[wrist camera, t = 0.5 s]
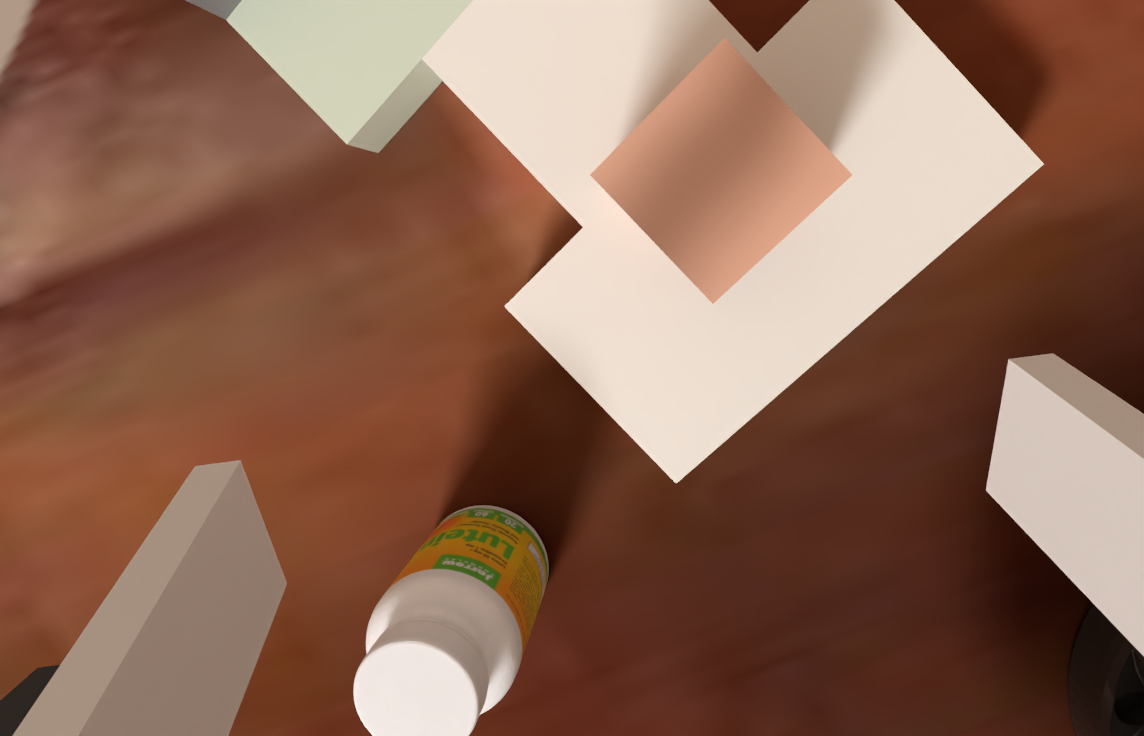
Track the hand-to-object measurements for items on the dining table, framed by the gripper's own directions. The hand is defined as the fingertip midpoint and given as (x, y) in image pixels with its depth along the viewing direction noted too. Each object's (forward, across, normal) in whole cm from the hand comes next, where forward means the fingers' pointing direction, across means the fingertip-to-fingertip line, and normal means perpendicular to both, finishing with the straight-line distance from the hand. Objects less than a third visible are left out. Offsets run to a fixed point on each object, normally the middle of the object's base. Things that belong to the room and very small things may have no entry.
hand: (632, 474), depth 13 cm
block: (+14, -5, -1) cm, 15 cm away
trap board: (+19, -2, -4) cm, 19 cm away
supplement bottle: (+15, +5, +14) cm, 21 cm away
